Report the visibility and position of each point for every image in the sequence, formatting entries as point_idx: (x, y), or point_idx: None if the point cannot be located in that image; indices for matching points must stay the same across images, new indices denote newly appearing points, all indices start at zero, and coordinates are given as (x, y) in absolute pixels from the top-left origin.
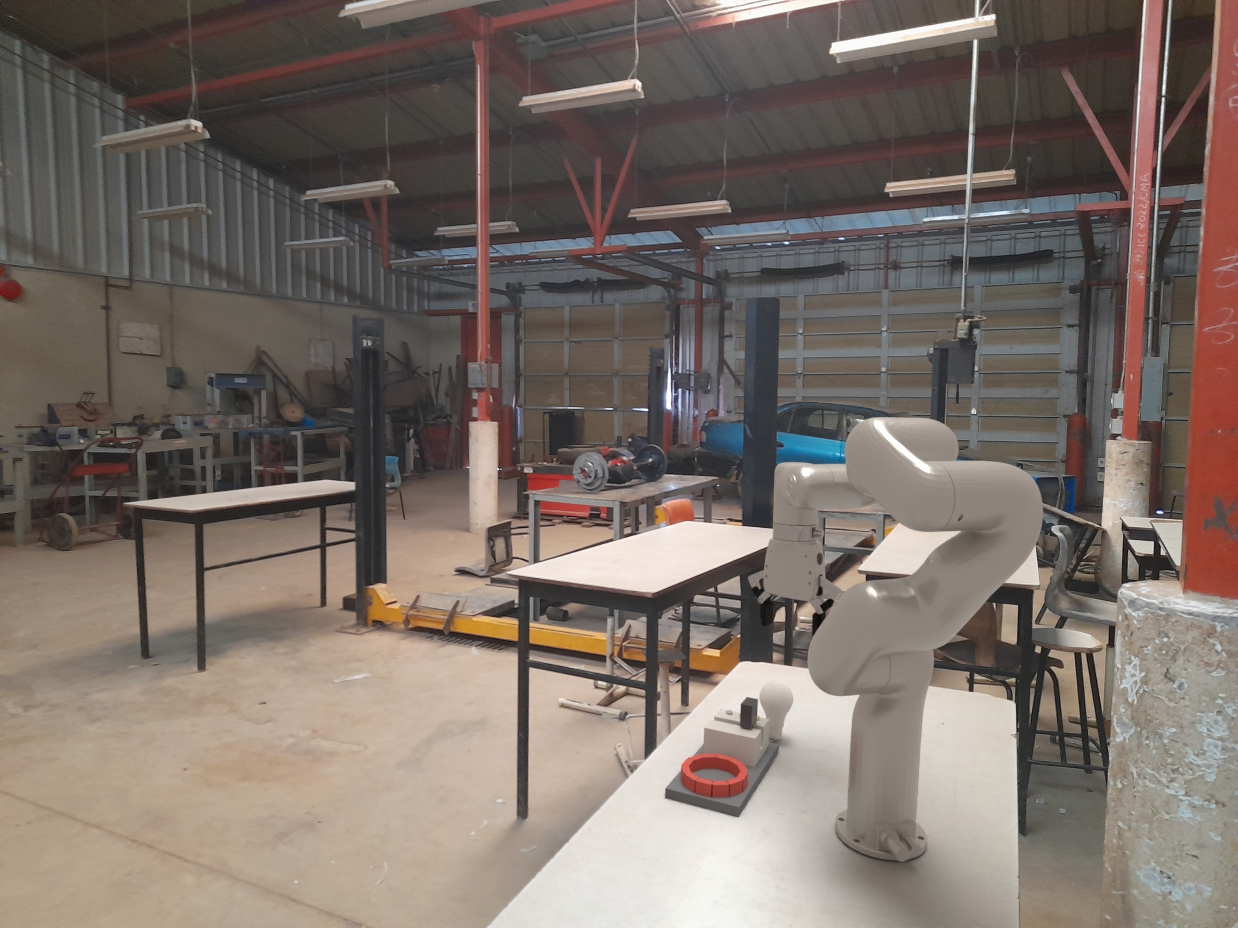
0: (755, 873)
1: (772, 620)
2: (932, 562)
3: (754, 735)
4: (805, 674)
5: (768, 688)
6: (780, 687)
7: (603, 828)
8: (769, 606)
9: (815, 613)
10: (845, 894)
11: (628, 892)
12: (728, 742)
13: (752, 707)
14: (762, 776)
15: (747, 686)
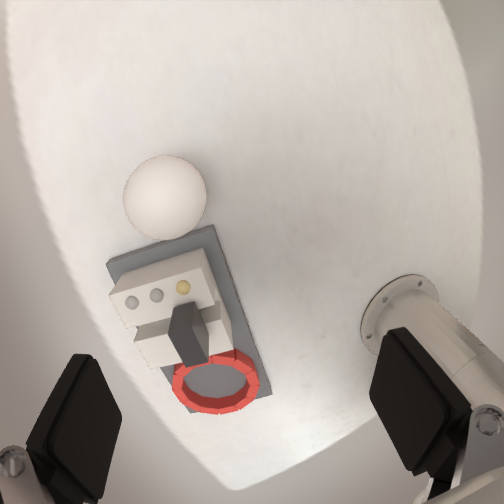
0: (323, 420)
1: (92, 367)
2: None
3: (225, 341)
4: None
5: (153, 234)
6: (177, 216)
7: (195, 450)
8: (82, 465)
9: (424, 470)
10: None
11: (263, 467)
12: None
13: (207, 357)
14: (243, 313)
15: (32, 41)
